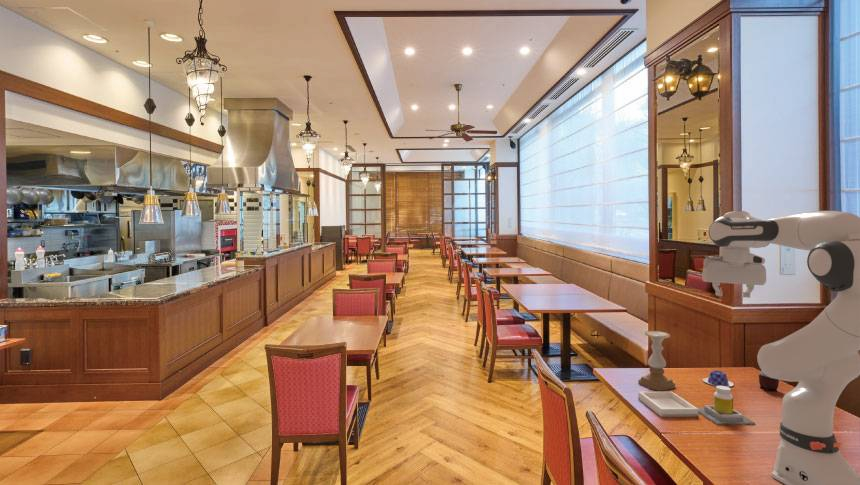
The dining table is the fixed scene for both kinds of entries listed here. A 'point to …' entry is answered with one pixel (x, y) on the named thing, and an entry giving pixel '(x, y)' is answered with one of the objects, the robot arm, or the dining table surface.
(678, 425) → the dining table surface
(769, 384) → the mate gourd
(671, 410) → the tray
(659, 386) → the candle holder
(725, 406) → the pill bottle
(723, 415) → the steel collar
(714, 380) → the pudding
